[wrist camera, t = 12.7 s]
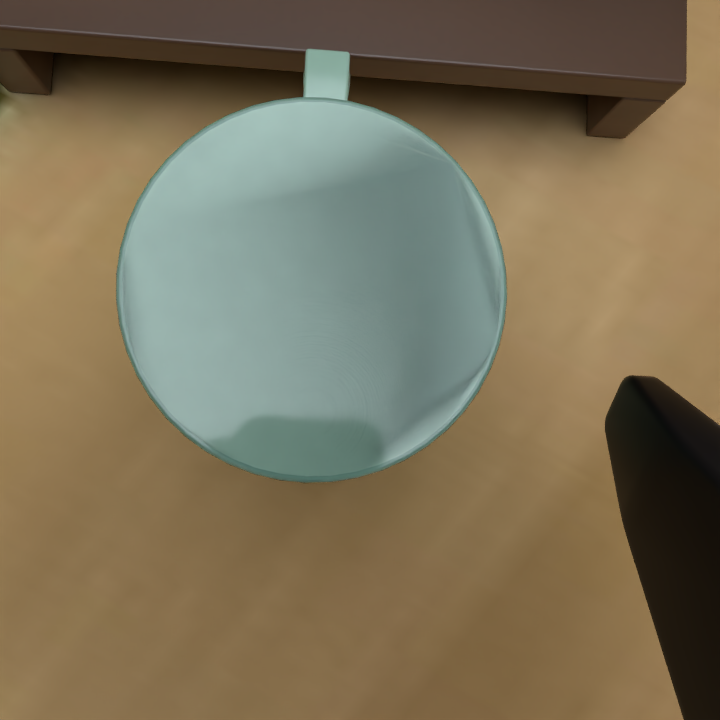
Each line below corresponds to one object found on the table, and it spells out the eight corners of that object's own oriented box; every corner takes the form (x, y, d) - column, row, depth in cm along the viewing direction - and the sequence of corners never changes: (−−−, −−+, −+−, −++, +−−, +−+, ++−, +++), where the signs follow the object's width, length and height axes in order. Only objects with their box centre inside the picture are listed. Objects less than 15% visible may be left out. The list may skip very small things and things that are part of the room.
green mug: (412, 454, 19) (503, 491, 10) (202, 445, 19) (98, 475, 10) (423, 182, 20) (517, -11, 11) (219, 167, 19) (139, -46, 10)
